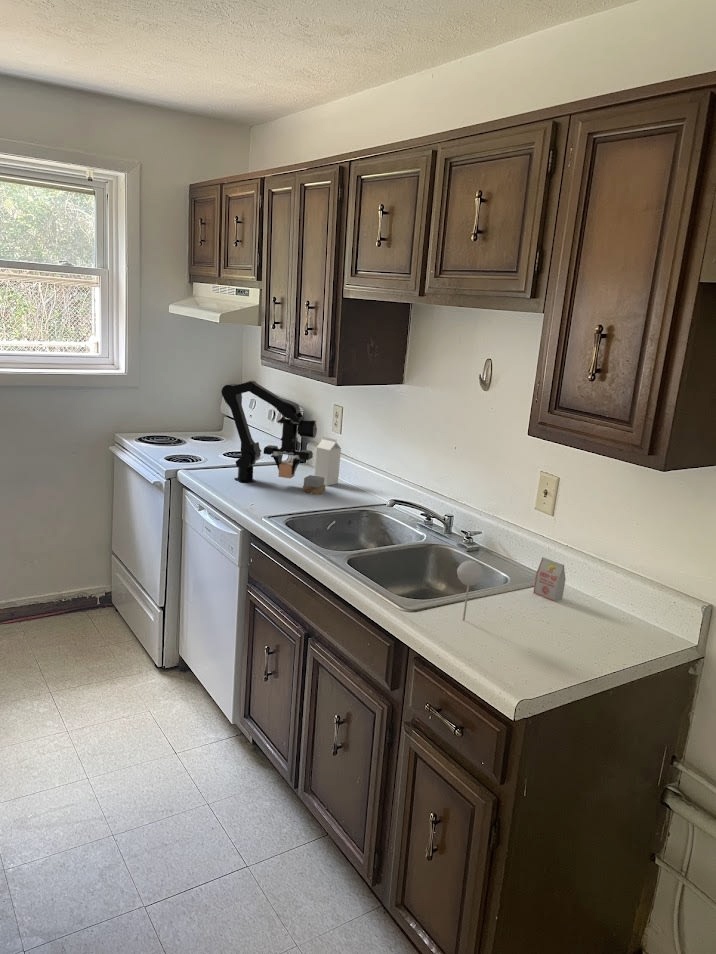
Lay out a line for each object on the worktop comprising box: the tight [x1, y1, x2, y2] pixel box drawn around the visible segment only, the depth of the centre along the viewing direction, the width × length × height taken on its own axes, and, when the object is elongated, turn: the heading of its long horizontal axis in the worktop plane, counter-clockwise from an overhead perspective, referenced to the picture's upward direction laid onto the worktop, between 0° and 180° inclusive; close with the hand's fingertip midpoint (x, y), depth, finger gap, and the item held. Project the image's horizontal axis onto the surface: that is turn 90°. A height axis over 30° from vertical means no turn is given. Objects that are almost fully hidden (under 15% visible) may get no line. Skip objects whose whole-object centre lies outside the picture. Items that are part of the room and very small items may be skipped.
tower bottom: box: [302, 484, 326, 496], centre depth 280 cm, size 7×7×3 cm
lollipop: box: [456, 560, 484, 621], centre depth 171 cm, size 6×6×15 cm
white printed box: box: [533, 556, 566, 603], centre depth 192 cm, size 4×7×10 cm, turn 40°
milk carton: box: [314, 436, 342, 487], centre depth 294 cm, size 7×7×19 cm
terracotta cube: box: [277, 461, 296, 479], centre depth 283 cm, size 5×5×5 cm
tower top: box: [303, 474, 324, 488], centre depth 280 cm, size 6×6×3 cm
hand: (286, 473), depth 284 cm, fingers closed on terracotta cube, 5 cm apart
